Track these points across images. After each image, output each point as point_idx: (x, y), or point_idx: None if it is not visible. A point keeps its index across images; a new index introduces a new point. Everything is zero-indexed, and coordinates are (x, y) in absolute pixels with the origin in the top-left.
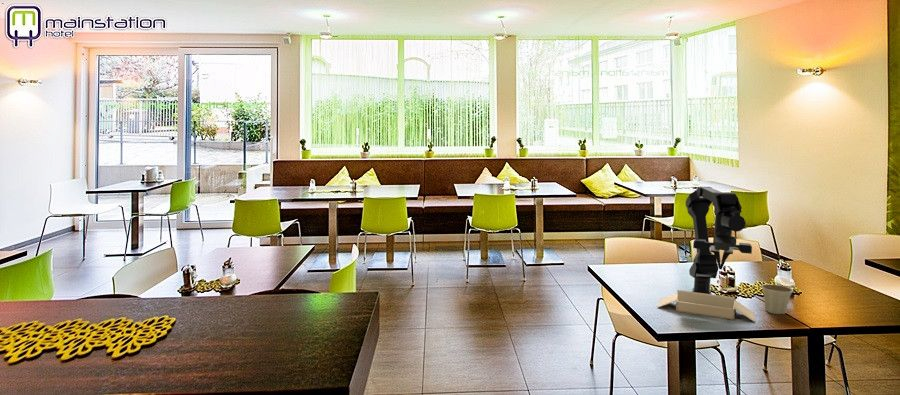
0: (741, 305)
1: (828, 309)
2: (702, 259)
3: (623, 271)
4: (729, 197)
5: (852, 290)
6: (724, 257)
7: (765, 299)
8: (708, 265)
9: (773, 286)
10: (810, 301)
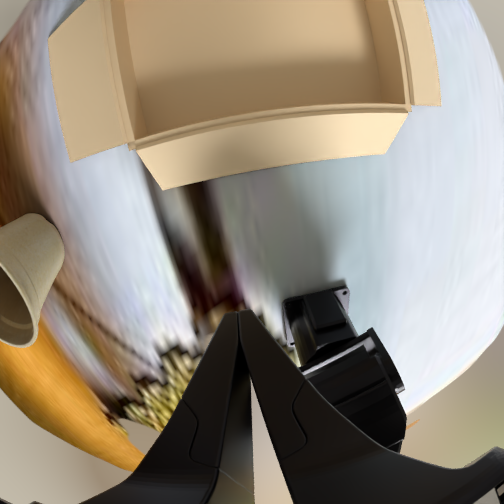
0: (94, 126)
1: (13, 346)
2: (380, 417)
3: (475, 337)
4: None
5: (80, 443)
6: (186, 456)
7: (32, 245)
8: (336, 402)
9: (26, 338)
10: (61, 383)
